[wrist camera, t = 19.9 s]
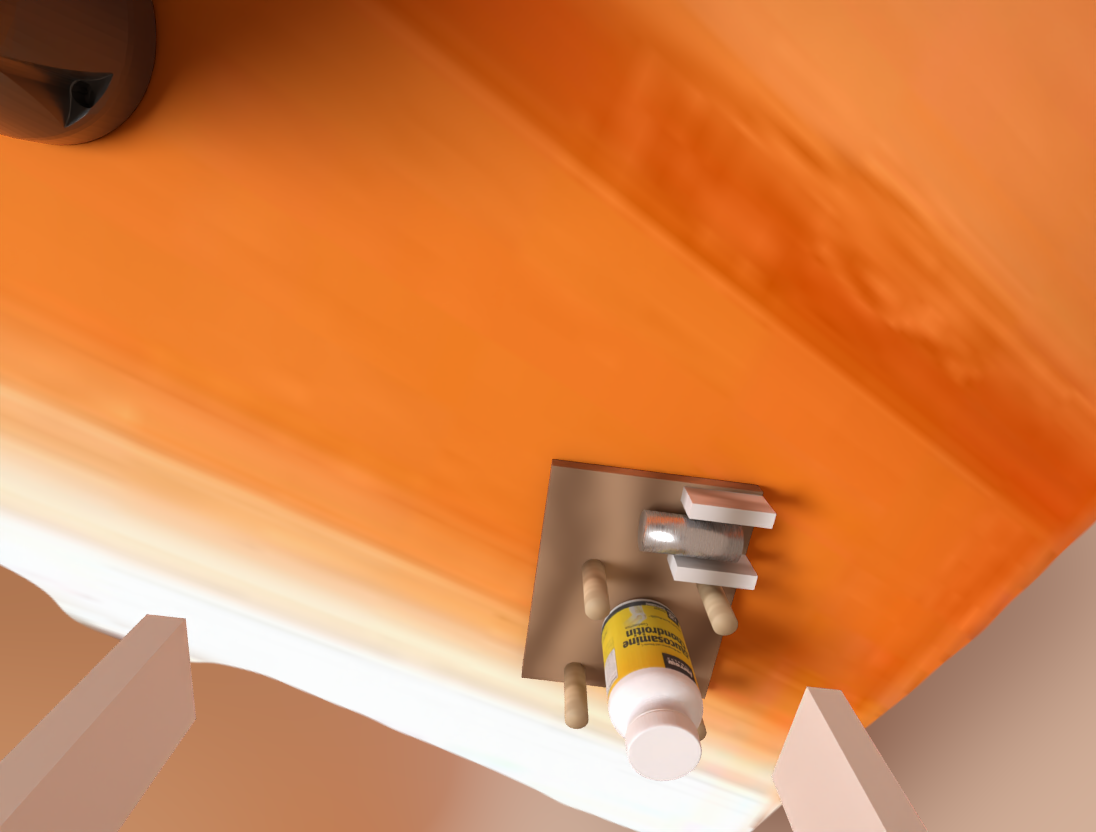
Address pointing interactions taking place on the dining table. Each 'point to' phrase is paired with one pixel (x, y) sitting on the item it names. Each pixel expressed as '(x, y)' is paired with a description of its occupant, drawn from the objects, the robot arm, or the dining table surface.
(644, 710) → the pill bottle
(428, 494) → the dining table surface
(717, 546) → the pin
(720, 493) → the board
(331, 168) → the dining table surface
